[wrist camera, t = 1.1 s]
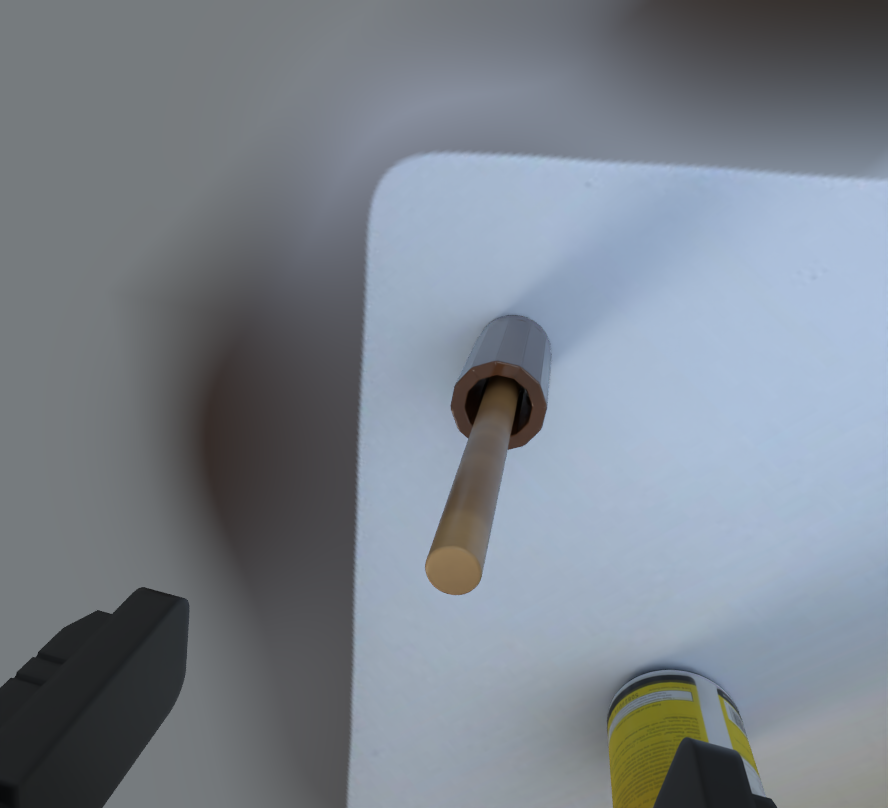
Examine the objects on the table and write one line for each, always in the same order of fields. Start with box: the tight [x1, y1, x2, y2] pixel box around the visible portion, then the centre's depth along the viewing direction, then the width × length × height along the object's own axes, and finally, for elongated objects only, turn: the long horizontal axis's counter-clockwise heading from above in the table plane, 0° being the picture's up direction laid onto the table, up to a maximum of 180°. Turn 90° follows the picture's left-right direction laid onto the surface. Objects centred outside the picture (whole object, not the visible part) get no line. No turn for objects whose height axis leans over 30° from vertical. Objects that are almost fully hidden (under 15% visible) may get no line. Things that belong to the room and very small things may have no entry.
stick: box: [425, 375, 521, 595], centre depth 22 cm, size 1×1×16 cm
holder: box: [451, 315, 551, 450], centre depth 27 cm, size 3×3×7 cm
